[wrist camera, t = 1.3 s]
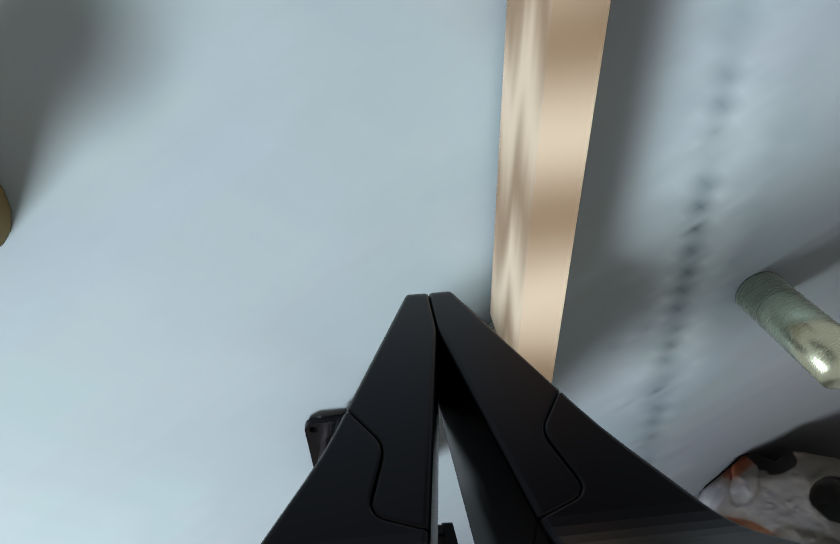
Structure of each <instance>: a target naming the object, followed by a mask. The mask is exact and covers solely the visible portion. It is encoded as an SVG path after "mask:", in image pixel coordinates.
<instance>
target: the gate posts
mask: <svg viewBox="0 0 840 544" xmlns="http://www.w3.org/2000/svg"><path fill="white" fill-rule="evenodd" d="M736 302H737V304H738V305H739V306H740V307H741V308H742V309H743V310H744V311H745V312H746V313H747V314H748V315H749V316H750V317H751V318H752V319H753V320H754V321H756V322H757V323H758V324H759V325H760V326H761V327H762V328H763V329H764V330H765V331H766V332H767V333H768V334H769V335H770V336H771V337H772V338H773V339H774V340H775V341H776V342H777V343H779V344H780V345H781V346H782V347H783V348H784V349H785V350H786V351H787V352H788V353H789V354H790V355H791V356H792V357H793V358H794V359H795V360H796V361H797V362H798V363H799V364H800V365H802V366H803V367H804V368H805V369H806V370H807V371H808V372H809V373H810V374H811V375H812V376H813V377H814V378H815V379H816V380H817V381H818V382H819V383H820V384H821V385H822V386H824V387H825V388H828V389H840V324H839V323H837V322H836V321H835V320H834V319H832V318H831V317H830V316H829V315H827V314H826V313H825V312H824V311H822V310H821V309H820V308H818V307H817V306H816V305H815V304H813V303H812V302H811V301H810V300H808V299H807V298H806V297H805V296H803V295H802V294H801V293H800V292H798V291H797V290H796V289H795V288H793V287H792V286H791V285H789V284H788V283H787V282H786V281H784V280H783V279H782V278H781V277H779V276H778V275H777V274H775V273H772V272H762V273H759V274H756V275H754V276H752V277H750V278H749V279H747V280H746V281H745V282H744V283H743V284H742V285H741V286H740V287H739V289H738V291H737V293H736ZM488 326H489V327H490V328H491V329H492V330H493V331H494V332H495V333H496V330H495V327H494V324H493V322H491V323H489V324H488ZM496 334H497V333H496Z"/></svg>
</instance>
